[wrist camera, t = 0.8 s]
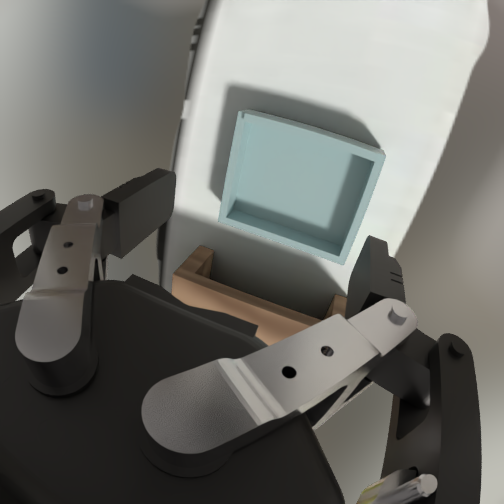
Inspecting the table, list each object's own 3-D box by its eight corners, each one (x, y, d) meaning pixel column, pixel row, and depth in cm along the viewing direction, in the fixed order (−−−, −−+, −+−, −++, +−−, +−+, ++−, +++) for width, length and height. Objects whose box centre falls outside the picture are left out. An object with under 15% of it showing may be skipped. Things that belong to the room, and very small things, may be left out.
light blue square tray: (248, 109, 30) (236, 111, 27) (383, 150, 28) (386, 157, 25) (228, 211, 36) (215, 223, 33) (345, 251, 34) (343, 268, 31)
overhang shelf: (199, 245, 40) (172, 273, 34) (350, 299, 37) (346, 338, 31) (190, 320, 48) (169, 351, 42) (313, 367, 45) (304, 403, 39)
